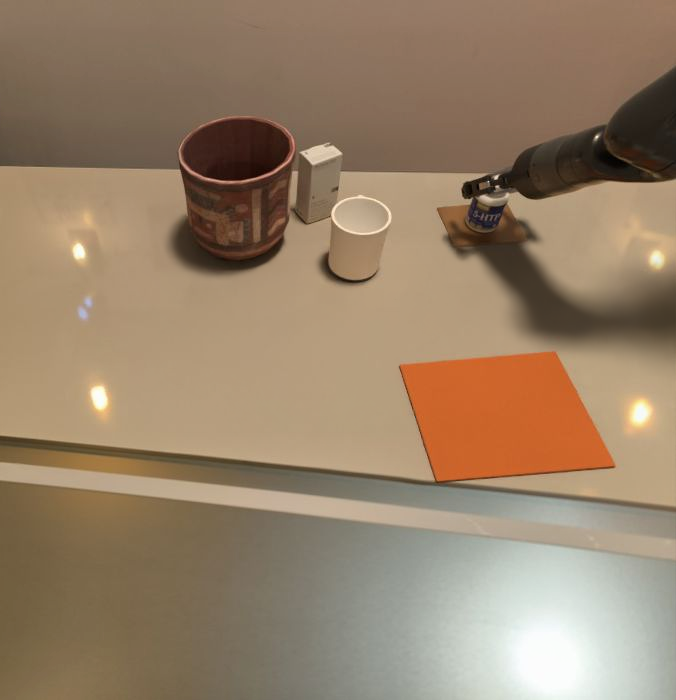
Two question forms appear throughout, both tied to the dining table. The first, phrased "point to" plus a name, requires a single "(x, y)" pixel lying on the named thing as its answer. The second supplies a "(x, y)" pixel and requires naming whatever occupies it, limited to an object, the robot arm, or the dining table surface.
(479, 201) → the pill bottle
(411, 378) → the towel
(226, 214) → the pottery
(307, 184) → the cosmetic box
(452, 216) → the cork pad
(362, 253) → the mug
